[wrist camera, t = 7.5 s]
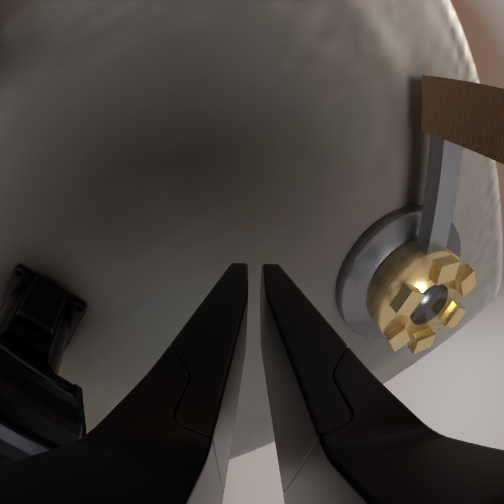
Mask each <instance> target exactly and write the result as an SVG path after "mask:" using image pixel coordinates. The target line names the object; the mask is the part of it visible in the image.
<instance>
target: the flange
mask: <svg viewBox="0 0 504 504" xmlns="http://www.w3.org/2000/svg"><path fill="white" fill-rule="evenodd" d="M422 209H423V206H409V207H405V208H401V209H398V210H396V211H393V212H391V213H390V214H388V215H386V216H384V217H383V218H381V219H380V220H378V221H377V222H376V223H374V224H373V225H372V226H371V227H370V228H369V229H368V230H367V231H366V232H365V233H364V234H363V235H362V236H361V237H360V238H359V239H358V241H357V242H356V243H355V244H354V246H353V247H352V249H351V250H350V252H349V253H348V255H347V257H346V259H345V261H344V263H343V265H342V267H341V270H340V273H339V276H338V279H337V285H336V302H337V306H338V309H339V311H340V313H341V315H342V316H343V318H344V319H345V321H346V323H347V324H348V326H349V327H350V328H351V329H352V330H353V331H354V332H355V333H357V334H359V335H361V336H363V337H367V338H384V337H385V336H384V335H383V333H382V332H381V330H380V329H379V328H378V326H377V325H376V324H375V322H374V321H373V319H372V318H371V317H370V315H369V313H368V311H367V305H366V300H367V293H368V289H369V287H370V284H371V282H372V280H373V278H374V276H375V274H376V272H377V271H378V269H379V268H380V267H381V265H382V264H383V263H384V262H385V261H386V259H387V258H388V257H389V256H390V255H391V254H393V253H394V252H395V251H396V250H397V249H399V248H400V247H402V246H403V245H405V244H407V243H408V242H410V241H413V240H416V239H418V234H419V228H420V222H421V216H422ZM446 247H447V248H448V249H449V250H451V251H452V252H453V253H454V254H456V255H457V256H458V257H459V258H460V239H459V235H458V232H457V230H456V228H455V226H454V225H453V224H452V223H451V227H450V232H449V236H448V241H447V245H446Z"/></svg>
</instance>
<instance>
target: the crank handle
mask: <svg viewBox="0 0 504 504" xmlns="http://www.w3.org/2000/svg"><path fill="white" fill-rule="evenodd" d="M421 132H424V133H427V134H429V135H430V148H429V159H428V170H427V179H426V187H425V195H424V202H423V209H422V216H421V222H420V228H419V234H418V239H416V240H413V241H410V242H408V243H407V244H405V245H403V246H402V247H400V248H399V249H397V250H396V251H395V252H394V253H393V254H391V255H390V256H389V257H388V258H387V259H386V261H385V262H384V263H383V264H382V265H381V267H380V268H379V269H378V271H377V272H376V274H375V276H374V278H373V280H372V282H371V284H370V287H369V289H368V293H367V300H366V305H367V311H368V313H369V315H370V317H371V318H372V319H373V321H374V322H375V324H376V325H377V326H378V328H379V329H380V330H381V332H382V333H383V335H384V336H385V337H386V339H387V341H388V343H389V345H390V346H391V347H392V349H393V350H394V352H395V351H397V350H398V349H399V348H401V347H402V346H408V347H409V349H410V350H411V351H412V353H413V354H415V353H417V352H420V351H422V350H425V349H427V348H429V347H431V345H432V342H433V340H434V337H435V335H436V334H435V332H436V331H437V330H438V329H440V328H441V327H442V326H443V325H445V326H447V327H451V328H454V327H455V326H456V324H457V323H458V322H459V320H460V319H461V318H462V316H463V315H464V314H465V312H466V311H467V310H466V309H465V308H464V307H463V306H462V305H461V304H460V302H461V300H462V298H463V297H464V296H465V295H466V294H467V293H468V292H469V291H470V290H472V289H473V288H474V287H475V286H476V279H475V271H474V270H473V269H472V268H471V267H470V266H469V265H466V264H465V263H464V261H463V260H462V259H460V258H459V257H458V256H457V255H456V254H454V253H453V252H452V251H451V250H449V249H448V248H447V247H446V245H447V241H448V236H449V232H450V227H451V222H452V217H453V212H454V206H455V201H456V195H457V188H458V182H459V174H460V167H461V158H462V149H463V147H465V148H467V149H469V150H472V151H474V152H477V153H479V154H482V155H484V156H486V157H488V158H491V159H493V160H495V161H497V162H500V163H502V164H504V89H502V88H497V87H493V86H488V85H483V84H478V83H473V82H467V81H461V80H455V79H448V78H441V77H433V76H424V75H422V120H421Z"/></svg>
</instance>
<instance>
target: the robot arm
mask: <svg viewBox="0 0 504 504" xmlns="http://www.w3.org/2000/svg"><path fill="white" fill-rule="evenodd" d="M18 271H20V272H21V273H19V272H18ZM78 306H80V307H82V308H79V307H78ZM247 307H248V265H247V264H245V263H232V264H231V265H230V266H229V267H228V269H227V270H226V271H225V273H224V274H223V275H222V277H221V278H220V279H219V281H218V282H217V283H216V285H215V286H214V287H213V289H212V290H211V291H210V293H209V294H208V295H207V297H206V298H205V299H204V300H203V302H202V303H201V304H200V306H199V307H198V308H197V310H196V311H195V312H194V314H193V315H192V316H191V318H190V319H189V320H188V322H187V323H186V324H185V326H184V327H183V328H182V330H181V331H180V332H179V334H178V335H177V336H176V338H175V339H174V340H173V342H172V343H171V346H169V347H168V348H167V349H166V351H165V352H164V353H163V355H162V356H161V358H160V359H159V360H158V361H157V362H156V364H155V365H154V366H153V367H152V369H151V370H150V371H149V372H148V374H147V375H146V376H145V377H144V378H143V379H142V380H141V381H140V382H139V383H138V384H137V385H136V386H135V388H134V389H133V390H132V391H131V392H130V393H129V394H128V395H127V396H126V397H125V398H124V399H123V400H122V401H121V402H120V403H119V404H118V405H117V406H116V407H115V408H114V409H113V410H112V411H111V412H110V413H109V414H108V415H107V416H106V417H105V418H104V419H103V420H102V421H101V422H100V423H99V424H98V425H97V426H96V427H95V428H94V429H93V430H91V431H90V432H89V433H88V434H86V423H85V415H84V405H83V394H82V388H81V387H79V386H78V385H76V384H75V385H74V384H72V383H70V382H69V381H67V380H65V379H64V378H62V377H60V376H59V375H58V372H59V368H60V364H61V360H62V357H63V353H64V351H65V349H66V347H67V345H68V343H69V342H70V340H71V338H72V336H73V334H74V332H75V330H76V328H77V327H78V325H79V323H80V321H81V319H82V318H83V316H84V314H85V312H86V309H87V305H86V303H85V302H83V301H82V300H80V299H78V298H76V297H74V296H73V295H71V294H69V293H67V292H65V291H64V290H62V289H60V288H58V287H57V286H55V285H53V284H52V283H50V282H48V281H47V280H45V279H43V278H41V277H40V276H38V275H37V274H35V273H33V272H32V271H30V270H28V269H27V268H25V267H24V266H22V265H16V267H15V268H14V270H13V273H12V276H11V279H10V282H9V285H8V289H7V292H6V295H5V299H4V303H3V306H2V310H1V313H0V504H222V501H223V493H224V488H225V481H226V475H227V468H228V462H229V456H230V449H231V443H232V436H233V430H234V423H235V417H236V410H237V403H238V397H239V390H240V384H241V377H242V370H243V363H244V357H245V349H246V332H247ZM260 320H261V349H262V357H263V363H264V370H265V377H266V383H267V390H268V397H269V403H270V410H271V416H272V423H273V430H274V436H275V443H276V449H277V456H278V462H279V469H280V475H281V482H282V488H283V493H284V501H285V504H504V450H500V449H495V448H490V447H485V446H481V445H477V444H473V443H468V442H464V441H460V440H457V439H453V438H449V437H446V436H443V435H441V434H439V433H437V432H436V431H434V430H432V429H431V428H429V427H428V426H427V425H425V424H424V423H423V422H422V421H421V420H420V419H418V418H417V417H416V416H415V415H414V414H413V413H412V412H411V411H410V410H409V409H408V408H407V407H406V406H405V405H404V404H403V403H402V402H401V401H399V400H398V399H397V398H396V397H395V396H394V395H393V394H392V393H391V392H390V391H389V390H388V389H387V388H386V387H385V386H384V385H383V384H382V383H381V382H380V381H379V380H378V379H377V378H376V377H375V376H374V375H373V374H372V373H371V372H370V371H369V370H368V369H367V368H366V367H365V365H364V364H363V363H362V362H361V361H360V360H359V359H358V358H357V356H356V355H355V354H354V353H353V352H352V350H351V349H350V348H347V345H346V343H345V342H344V341H343V340H342V339H341V338H340V336H339V335H338V334H337V333H336V332H335V330H334V329H333V328H332V327H331V326H330V324H329V323H328V322H327V321H326V320H325V319H324V317H323V316H322V315H321V314H320V313H319V311H318V310H317V309H316V308H315V307H314V306H313V304H312V303H311V302H310V301H309V300H308V298H307V297H306V296H305V295H304V294H303V293H302V291H301V290H300V289H299V288H298V287H297V286H296V284H295V283H294V282H293V281H292V280H291V278H290V277H289V276H288V275H287V274H286V273H285V271H284V270H283V269H282V268H281V267H280V266H279V265H278V264H264V265H263V266H262V274H261V287H260Z"/></svg>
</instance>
